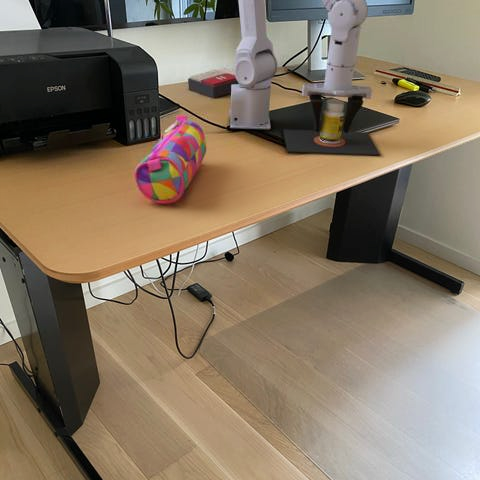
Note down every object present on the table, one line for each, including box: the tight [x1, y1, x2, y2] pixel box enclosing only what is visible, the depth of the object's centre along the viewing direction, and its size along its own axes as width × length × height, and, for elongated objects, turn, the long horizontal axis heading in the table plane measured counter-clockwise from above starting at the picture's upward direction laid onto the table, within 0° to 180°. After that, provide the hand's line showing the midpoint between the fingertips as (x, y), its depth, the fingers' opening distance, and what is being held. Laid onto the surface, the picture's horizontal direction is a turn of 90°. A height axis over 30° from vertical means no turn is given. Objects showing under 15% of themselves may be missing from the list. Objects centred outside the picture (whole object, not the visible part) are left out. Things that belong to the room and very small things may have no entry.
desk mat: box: [282, 129, 381, 157], centre depth 115 cm, size 20×14×1 cm
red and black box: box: [187, 67, 239, 99], centre depth 145 cm, size 11×4×15 cm
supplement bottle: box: [319, 98, 346, 144], centre depth 112 cm, size 5×5×8 cm
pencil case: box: [134, 114, 207, 205], centre depth 92 cm, size 22×9×9 cm, turn 174°
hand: (331, 130), depth 113 cm, fingers open, 6 cm apart
